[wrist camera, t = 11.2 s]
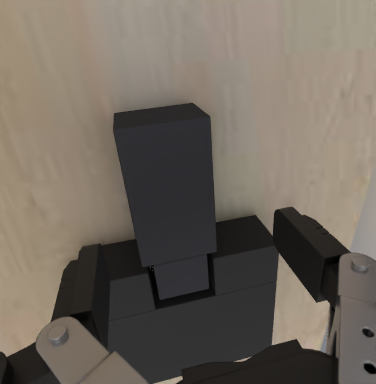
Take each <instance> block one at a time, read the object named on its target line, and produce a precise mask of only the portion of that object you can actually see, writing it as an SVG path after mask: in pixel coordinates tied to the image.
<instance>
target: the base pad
mask: <svg viewBox="0 0 376 384" xmlns="http://www.w3.org/2000/svg"><path fill="white" fill-rule="evenodd" d="M216 242H217V252H213V253H208V254H207V264H208V278H209V289H205V290H201V291H197V292H192V293H188V294H184V295H179V296H175V297H171V298H166V299H162V300H160V299H159V294H158V289H157V284H156V278H155V273H154V271H151V272H150V268H149V266H147V267H142V264H141V260H140V255H139V250H138V245H137V241H136V239H135V240H130V241H125V242H120V243H115V244H109V245H104V246H102V249H103V253H104V256H105V260H106V263H107V266H108V270H109V275H110V304H109V328H108V351H109V352H110V353H111V352H112V351H116V352H117V353H119V354H120V355H121V356H122V357H123V358H124V359H125V360H126V361H127V362H128V363H129V364H130V365H131V366H132V367H133V368H134V369H135V370H136V371H137V372H138V373H139V374H140V375H141V376H142V377H143V378H144V379H145V380H146V381H147V382H148V383H149V384H153V383H157V382H161V381H164V380H168V379H172V378H175V377H179V376H182V371H181V369H185V368H189V367H192V366H196V365H200V364H204V363H208V362H233V361H237V360H241V359H244V358H248V357H252V356H254V355H256V354H257V353H259V352H261V351H262V350H264V349H266V348H267V347H269V346H272V333H273V320H274V307H275V294H276V281H277V269H278V256H279V252H278V251H277V249H276V247H275V245H274V242H273V236H272V235H271V233H270V232H269V231H268V230H267V229H266V227H265V226H264V225H263V224H262V222H261V221H260V220H259V219H258V217H257V216H256V215H254V216H249V217H244V218H239V219H234V220H229V221H224V222H219V223H216ZM80 253H81V250H80V251H79V257H78V259H80Z"/></svg>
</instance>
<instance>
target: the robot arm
mask: <svg viewBox="0 0 376 384" xmlns="http://www.w3.org/2000/svg"><path fill="white" fill-rule="evenodd" d="M273 242H274V245H275V247H276V249H277V251H278V252H279V253H280V255H281V256H282V257H283V259H284V260H285V261H286V263H287V264H288V265H289V267H290V268H291V269H292V271H293V272H294V273H295V275H296V276H297V277H298V279H299V280H300V281H301V283H302V284H303V285H304V287H305V288H306V289H307V291H308V292H309V293H310V295H311V296H312V297H313V299H314V300H315V301H316V303H317V302H321V301H325V300H327V301H328V302H329V303H330V307H329V316H328V332H327V347H326V353H323V352H321V351H317V350H313V349H304V348H302V347H301V346H300V344H299V342H298V340H297V339H295V340H291V341H287V342H284V343H280V344H276V345H272V346H269V347H267V348H266V349H264V350H262V351H261V352H259V353H257V354H256V355H254V356H252V357H251V358H249V359H247V360H246V361H243V362H208V363H204V364H200V365H196V366H192V367H189V368H185V369H181V371H182V377H183V380H181V381H179V382H178V383H176V384H376V261H375V260H374V259H372V258H370V257H368V256H366V255H363V254H360V253H351V252H350V251H349V250H348V249H347V248H346V247H344V246H343V245H342V244H341V243H340V242H339V241H338V240H337V239H336V238H335V237H334V236H332V235H331V234H329V232H328V231H327V230H326V229H325V228H323V226H321V225H320V224H319V223H318V222H317V221H316V220H314V219H312V218H310V217H308V216H306V215H301V214H300V213H299V212H298V211H297V210H296V209H295V208H293V207H287V208H282V209H277V210H275V212H274V224H273ZM109 304H110V275H109V270H108V266H107V263H106V260H105V256H104V253H103V249H102V246H101V244H100V243H99V244H94V245H88V246H83V247H82V248H81V253H80V259H78V260H73V261H70V263H69V264H68V265H67V267H66V268H65V269H64V271H63V275H62V279H61V283H60V287H59V291H58V295H57V299H56V303H55V307H54V311H53V315H52V319H51V322H50V323H49V324H48V325H46V326H45V327H44V328H43V329H42V330H41V332H40V333H39V335H38V337H37V339H36V342H34V343H33V344H31V345H30V346H28V347H26V348H24V349H22V350H20V351H18V352H16V353H14V354H12V355H10V356H8V357H6V356H5V354H4V353H2V352H0V384H149V383H148V382H147V381H146V380H145V379H144V378H143V377H142V376H141V375H140V374H139V373H138V372H137V371H136V370H135V369H134V368H133V367H132V366H131V365H130V364H129V363H128V362H127V361H126V360H125V359H124V358H123V357H122V356H121V355H120V354H119V353H117V352H116V351H112V352H111V353H110V352H109V351H108V328H109Z"/></svg>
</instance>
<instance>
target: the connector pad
mask: <svg viewBox="0 0 376 384" xmlns="http://www.w3.org/2000/svg"><path fill="white" fill-rule="evenodd" d="M113 132H114V137H115V142H116V146H117V151H118V156H119V160H120V165H121V170H122V175H123V179H124V184H125V189H126V193H127V198H128V203H129V208H130V212H131V217H132V222H133V226H134V231H135V236H136V241H137V245H138V250H139V255H140V260H141V264H142V267H147V266H152V265H153V268H154V273H155V278H156V284H157V289H158V294H159V299H160V300H162V299H166V298H171V297H175V296H179V295H184V294H188V293H192V292H197V291H201V290H205V289H209V278H208V264H207V254H208V253H213V252H217V242H216V222H215V202H214V182H213V162H212V142H211V122H210V116H209V115H208V114H206V113H205V112H204V111H202V110H201V109H200V108H199V107H197V106H196V105H195V104H193V103H188V104H181V105H173V106H166V107H158V108H151V109H143V110H135V111H128V112H120V113H115V114H114V126H113Z"/></svg>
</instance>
